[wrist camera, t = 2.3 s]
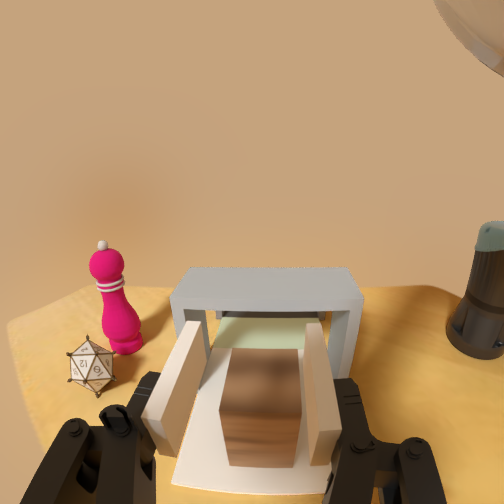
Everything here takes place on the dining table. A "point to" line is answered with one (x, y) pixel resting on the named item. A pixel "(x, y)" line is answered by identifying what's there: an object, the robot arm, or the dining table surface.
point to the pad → (262, 333)
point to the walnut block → (261, 407)
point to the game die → (91, 366)
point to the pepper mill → (115, 301)
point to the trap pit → (271, 314)
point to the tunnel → (213, 379)
